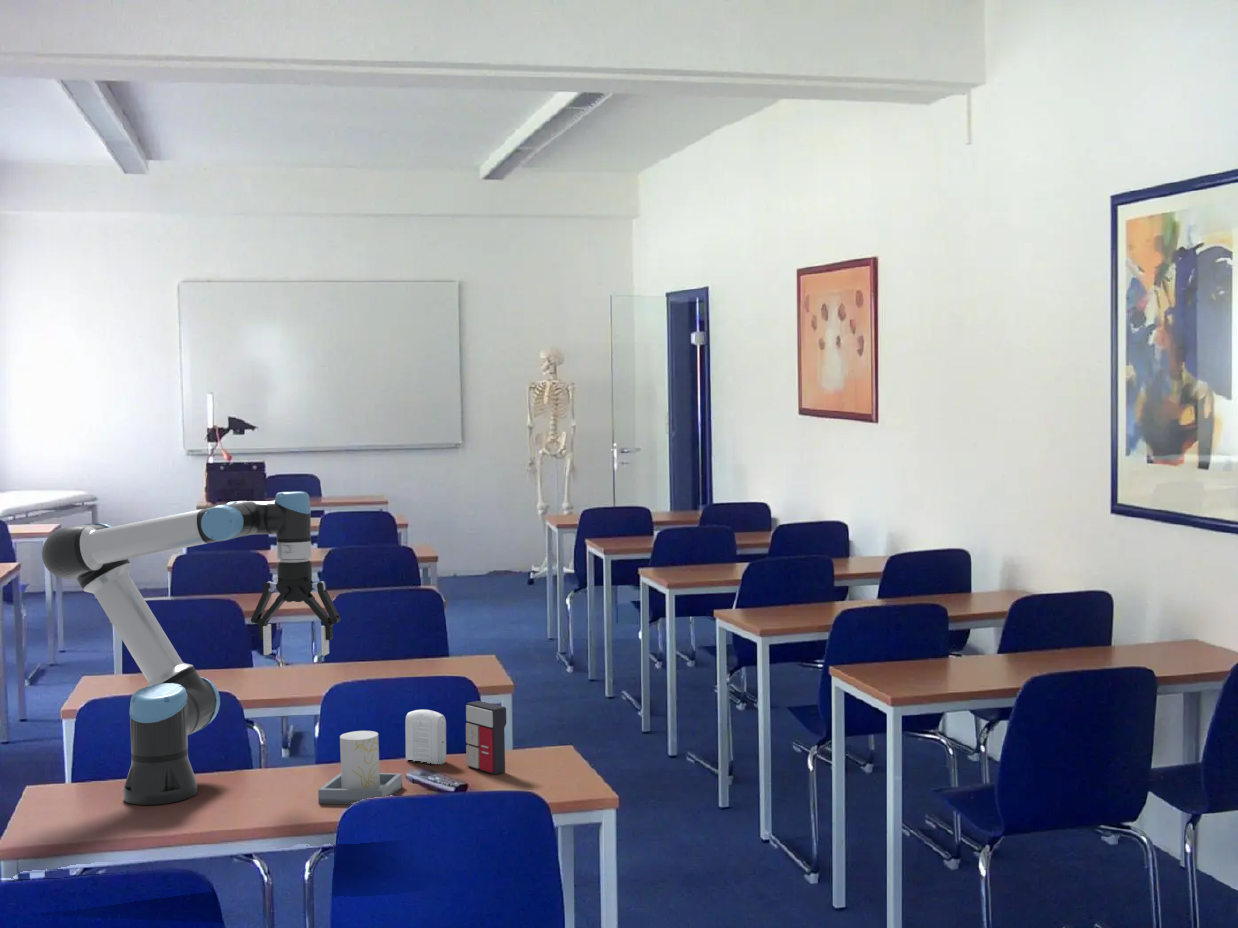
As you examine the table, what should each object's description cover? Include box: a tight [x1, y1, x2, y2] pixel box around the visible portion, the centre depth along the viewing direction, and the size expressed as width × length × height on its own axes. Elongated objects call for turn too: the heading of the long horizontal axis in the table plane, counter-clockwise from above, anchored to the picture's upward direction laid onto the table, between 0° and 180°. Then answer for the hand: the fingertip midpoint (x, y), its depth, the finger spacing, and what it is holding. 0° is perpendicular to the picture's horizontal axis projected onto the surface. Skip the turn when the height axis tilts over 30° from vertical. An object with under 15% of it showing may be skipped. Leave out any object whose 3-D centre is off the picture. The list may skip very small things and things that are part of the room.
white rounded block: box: [404, 709, 447, 766], centre depth 309 cm, size 10×4×12 cm, turn 64°
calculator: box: [465, 700, 507, 775], centre depth 301 cm, size 11×4×15 cm, turn 42°
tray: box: [317, 772, 403, 805], centre depth 281 cm, size 14×14×3 cm
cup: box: [339, 730, 381, 790], centre depth 281 cm, size 8×8×12 cm
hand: (296, 654), depth 293 cm, fingers open, 13 cm apart
